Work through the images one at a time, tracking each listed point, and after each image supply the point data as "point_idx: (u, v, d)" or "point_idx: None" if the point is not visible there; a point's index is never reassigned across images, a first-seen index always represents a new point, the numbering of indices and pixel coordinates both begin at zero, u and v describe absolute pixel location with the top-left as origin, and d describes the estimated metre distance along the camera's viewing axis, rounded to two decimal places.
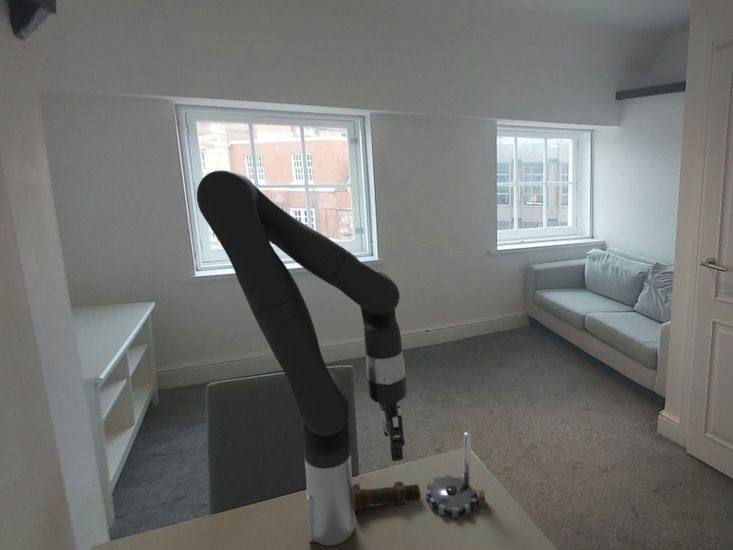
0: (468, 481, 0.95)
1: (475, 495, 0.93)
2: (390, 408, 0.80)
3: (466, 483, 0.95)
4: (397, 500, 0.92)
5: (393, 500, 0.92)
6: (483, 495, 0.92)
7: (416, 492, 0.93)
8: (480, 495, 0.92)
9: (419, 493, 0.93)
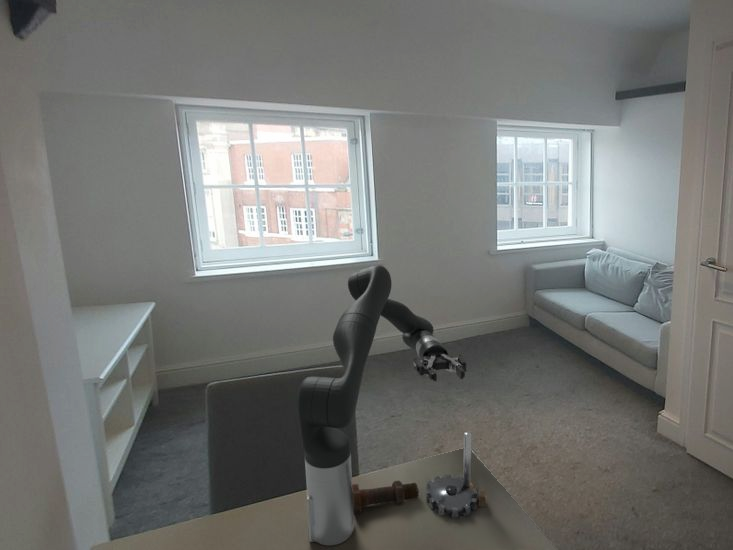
0: (468, 481, 0.95)
1: (475, 495, 0.93)
2: None
3: (466, 483, 0.95)
4: (396, 499, 0.92)
5: (392, 499, 0.92)
6: (483, 495, 0.92)
7: (414, 490, 0.93)
8: (480, 495, 0.92)
9: (417, 491, 0.94)
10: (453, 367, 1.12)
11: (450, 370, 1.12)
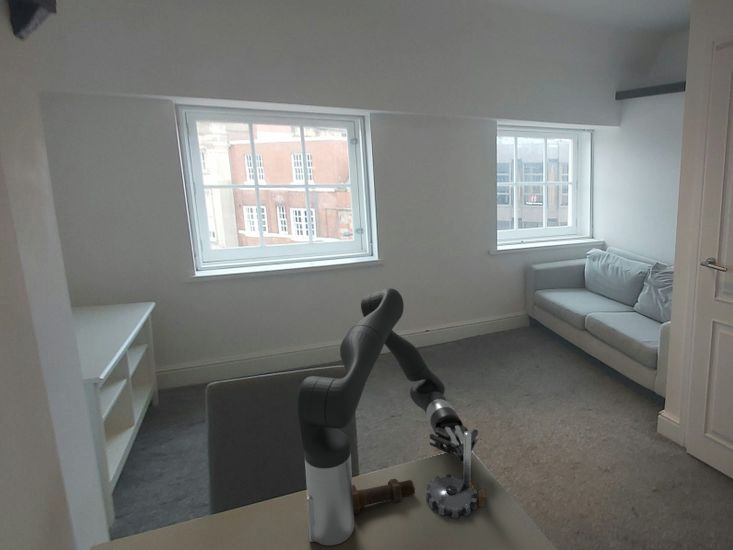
0: (468, 481, 0.95)
1: (475, 495, 0.93)
2: None
3: (466, 483, 0.95)
4: (393, 497, 0.93)
5: (389, 498, 0.93)
6: (483, 495, 0.92)
7: (411, 487, 0.94)
8: (480, 495, 0.92)
9: (414, 488, 0.95)
10: None
11: None
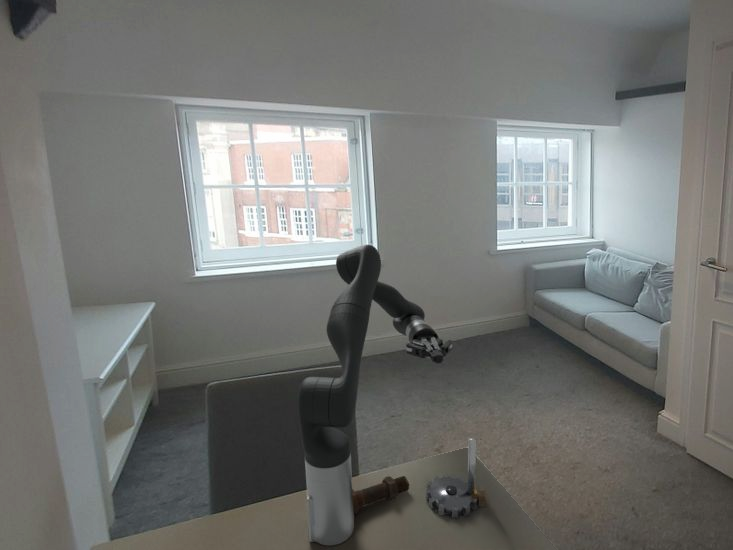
0: (471, 488, 0.92)
1: (473, 503, 0.91)
2: None
3: (469, 489, 0.93)
4: (390, 495, 0.93)
5: (385, 495, 0.94)
6: (483, 495, 0.92)
7: (405, 483, 0.96)
8: (480, 495, 0.92)
9: (408, 484, 0.96)
10: None
11: None
